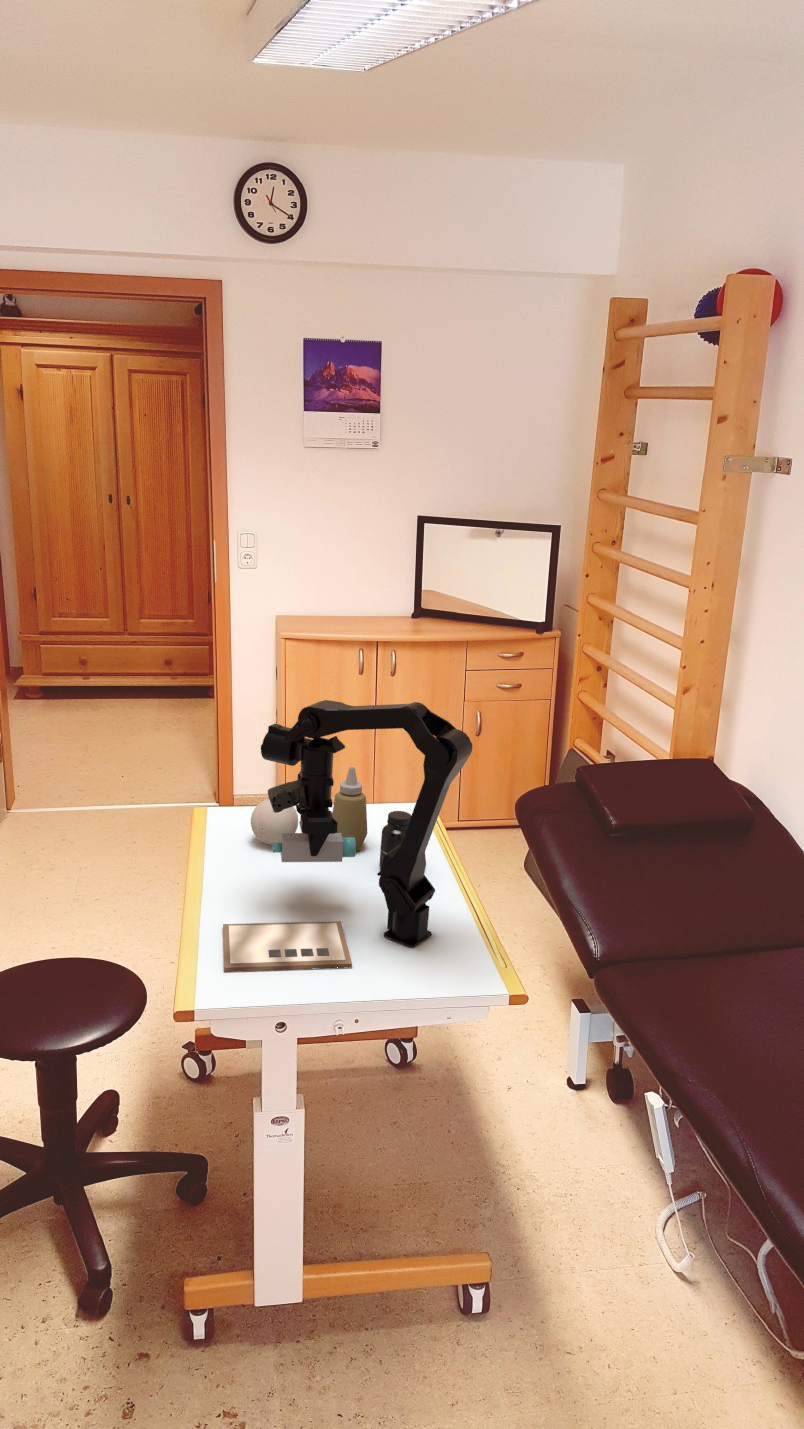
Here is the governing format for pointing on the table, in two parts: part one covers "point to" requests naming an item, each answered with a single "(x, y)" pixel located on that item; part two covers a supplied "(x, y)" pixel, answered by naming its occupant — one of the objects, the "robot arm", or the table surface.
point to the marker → (298, 848)
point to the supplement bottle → (393, 832)
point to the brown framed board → (284, 946)
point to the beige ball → (272, 822)
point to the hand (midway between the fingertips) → (312, 851)
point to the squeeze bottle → (351, 809)
